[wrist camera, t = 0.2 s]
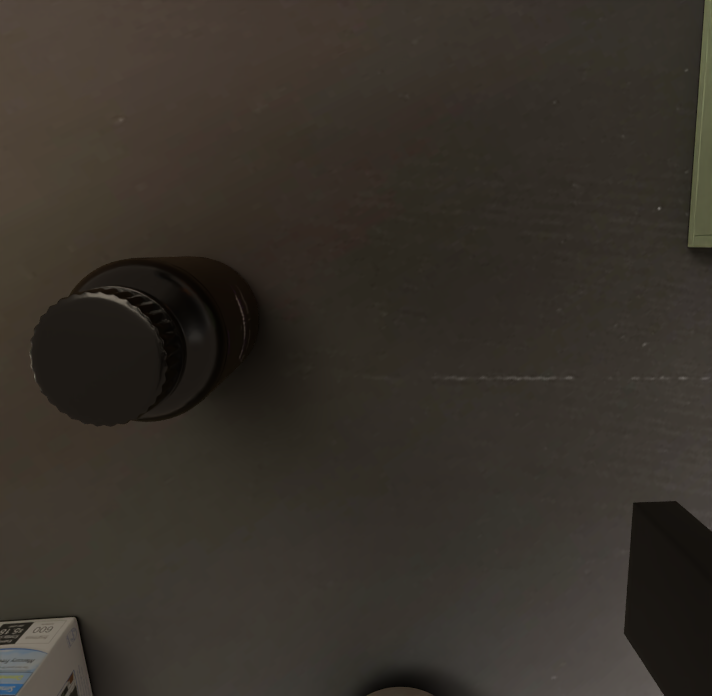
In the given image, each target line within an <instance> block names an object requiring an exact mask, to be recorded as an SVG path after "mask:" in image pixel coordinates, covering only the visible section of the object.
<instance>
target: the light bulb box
mask: <svg viewBox="0 0 712 696" xmlns="http://www.w3.org/2000/svg"><path fill="white" fill-rule="evenodd" d="M0 696H93V694H92V690H91V685H90V680H89V676H88V671H87V666H86V661H85V657H84V652H83V647H82V643H81V638H80V633H79V628H78V624H77V620H76V618H75V617H66V618H51V619H36V620H20V621H6V622H0Z"/></svg>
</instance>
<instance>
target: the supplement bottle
mask: <svg viewBox="0 0 712 696" xmlns="http://www.w3.org/2000/svg"><path fill="white" fill-rule="evenodd" d="M258 331H259V311H258V306H257V302H256V299H255V297H254V295H253V293H252V291H251V289H250V287H249V286H248V284H247V283H246V282H245V280H244V279H243V278H242V277H241V276H240V275H239V274H238V273H237V272H236V271H234V270H233V269H231V268H230V267H228V266H227V265H225V264H223V263H221V262H219V261H216V260H213V259H209V258H204V257H191V256H186V257H151V258H131V259H124V260H119V261H115V262H111V263H109V264H106V265H103V266H101V267H99V268H97V269H96V270H94V271H93V272H91V273H89V274H88V275H87V276H86V277H84V278H83V279H82V280H81V281H80V282H79V283H78V284H77V285H76V286H75V288H74V289H73V290H72V292H71V293H70V295H69V296H68V297H65V298H62V299H60V300H59V301H58V303H57V304H55V305H52V306H50V307H49V309H48V311H47V313H46V314H44V315H42V316H41V318H40V322H39V324H38V325H37V326H36V327H35V328H34V336H33V337H32V339H31V346H32V348H31V350H30V353H29V354H30V357H31V360H32V362H31V368H32V370H33V371H34V379H35V381H36V382H37V383H38V384H39V386H40V390H41V392H42V393H43V394H44V395H45V396H47V398H48V400H49V402H50V403H51V404H53V405H55V406H56V407H57V408H58V410H59V411H60V412H62V413H65V414H67V415H68V416H69V417H70V418H71V419H75V420H80V421H81V422H82V423H84V424H94V425H95V426H102V425H106V426H114V425H116V424H126V423H127V422H129V421H130V420H132V421H140V422H154V421H161V420H166V419H170V418H173V417H176V416H179V415H181V414H183V413H185V412H187V411H188V410H190V409H192V408H193V407H195V406H196V405H197V404H199V403H200V402H201V401H202V400H203V399H205V398H206V397H207V396H208V395H209V394H210V393H211V392H212V391H213V390H214V389H215V388H216V387H217V386H218V385H219V384H220V383H222V382H223V381H224V380H225V379H226V378H227V377H228V376H229V375H230V374H231V373H232V372H233V371H234V370H235V369H236V368H237V367H238V366H239V365H240V364H241V363H242V362H243V361H244V360H245V359H246V357H247V356H248V355H249V353H250V352H251V350H252V348H253V346H254V344H255V342H256V339H257V335H258Z"/></svg>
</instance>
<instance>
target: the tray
mask: <svg viewBox="0 0 712 696" xmlns="http://www.w3.org/2000/svg"><path fill="white" fill-rule="evenodd" d="M688 247H709V248H712V0H705V7H704V21H703V35H702V49H701V64H700V78H699V92H698V106H697V121H696V135H695V149H694V163H693V178H692V192H691V206H690V220H689V234H688Z"/></svg>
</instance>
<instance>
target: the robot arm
mask: <svg viewBox="0 0 712 696" xmlns="http://www.w3.org/2000/svg"><path fill="white" fill-rule="evenodd" d="M624 634H625V636H626V637H627V639H628V640H629V642H630V644H631V645H632V647H633V648H634V650H635V651H636V653H637V654H638V656H639V657H640V659H641V660H642V662H643V664H644V665H645V667H646V668H647V670H648V671H649V673H650V674H651V676H652V677H653V679H654V680H655V682H656V683H657V685H658V687H659V688H660V690H661V691H662V693H663V694H664V696H712V532H711V531H710V530H709V529H708V528H707V527H706V526H704V525H703V524H702V523H701V522H700V521H699V520H697V519H696V518H695V517H694V516H693V515H692V514H690V513H689V512H688V511H687V510H686V509H685V508H683V507H682V506H681V505H680V504H679V503H678V502H676V501H668V502H638V503H633V516H632V530H631V543H630V557H629V571H628V585H627V599H626V613H625V627H624Z"/></svg>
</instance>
